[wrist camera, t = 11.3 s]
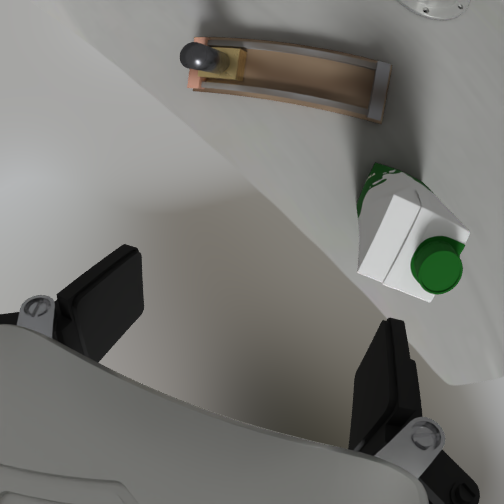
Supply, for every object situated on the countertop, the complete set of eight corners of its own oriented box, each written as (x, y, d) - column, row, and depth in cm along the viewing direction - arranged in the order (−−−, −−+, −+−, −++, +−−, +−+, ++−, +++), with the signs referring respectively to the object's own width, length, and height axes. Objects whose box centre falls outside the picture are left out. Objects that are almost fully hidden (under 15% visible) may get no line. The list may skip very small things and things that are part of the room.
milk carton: (404, 236, 41) (435, 323, 24) (347, 211, 42) (345, 288, 25) (430, 180, 37) (488, 237, 19) (370, 152, 38) (392, 189, 20)
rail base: (205, 38, 36) (192, 33, 33) (390, 66, 32) (395, 62, 29) (197, 91, 40) (184, 90, 37) (379, 123, 36) (383, 125, 32)
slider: (211, 50, 36) (174, 38, 27) (247, 52, 35) (218, 37, 26) (207, 77, 37) (169, 72, 29) (242, 81, 37) (212, 74, 28)
